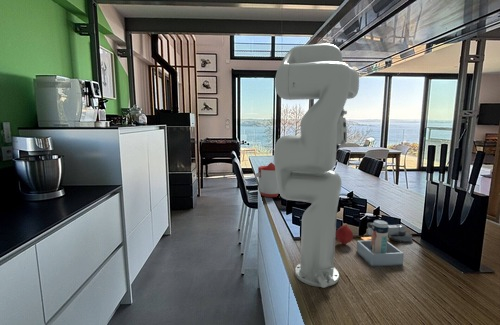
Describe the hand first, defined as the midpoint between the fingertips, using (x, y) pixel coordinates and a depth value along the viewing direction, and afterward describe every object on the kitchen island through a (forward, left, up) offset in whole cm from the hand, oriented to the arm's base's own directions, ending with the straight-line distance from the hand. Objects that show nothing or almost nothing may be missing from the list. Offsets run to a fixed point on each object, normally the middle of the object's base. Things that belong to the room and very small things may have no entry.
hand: (330, 161), depth 110 cm
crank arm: (-8, -20, -27) cm, 35 cm away
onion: (-11, -2, -29) cm, 31 cm away
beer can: (-22, -9, -29) cm, 37 cm away
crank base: (-8, -20, -29) cm, 36 cm away
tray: (-22, -9, -29) cm, 38 cm away
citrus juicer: (+59, +13, -29) cm, 67 cm away
